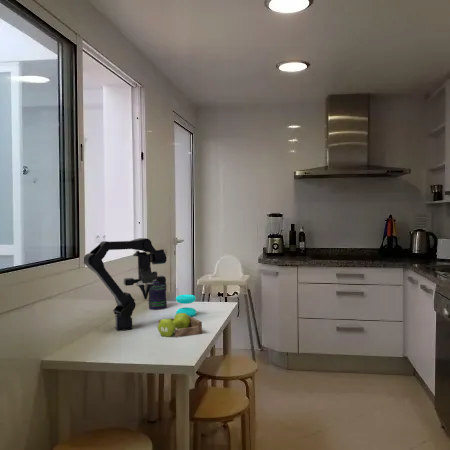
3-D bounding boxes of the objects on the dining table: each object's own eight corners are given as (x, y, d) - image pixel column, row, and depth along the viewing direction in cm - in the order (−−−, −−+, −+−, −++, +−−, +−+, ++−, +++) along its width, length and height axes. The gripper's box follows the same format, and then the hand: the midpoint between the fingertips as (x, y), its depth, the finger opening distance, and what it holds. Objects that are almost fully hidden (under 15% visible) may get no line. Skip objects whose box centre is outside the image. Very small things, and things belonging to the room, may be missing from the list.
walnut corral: (176, 337, 206) (175, 325, 206) (158, 326, 226) (158, 315, 226) (202, 333, 211) (201, 321, 211) (182, 323, 231) (182, 312, 231)
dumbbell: (172, 338, 205) (171, 320, 205) (156, 336, 208) (155, 319, 208) (192, 329, 220) (191, 313, 220) (176, 328, 223) (176, 312, 223)
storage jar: (165, 309, 266) (164, 281, 266) (147, 310, 266) (146, 282, 266) (167, 306, 276) (167, 279, 276) (150, 306, 276) (149, 279, 276)
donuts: (174, 294, 253) (193, 293, 256) (174, 314, 253) (193, 312, 256) (177, 297, 243) (197, 296, 246) (178, 318, 243) (198, 316, 246)
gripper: (127, 268, 219) (128, 303, 219) (168, 265, 225) (169, 299, 226) (122, 266, 229) (124, 299, 229) (162, 263, 236) (163, 296, 236)
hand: (145, 299), depth 230 cm, fingers closed
